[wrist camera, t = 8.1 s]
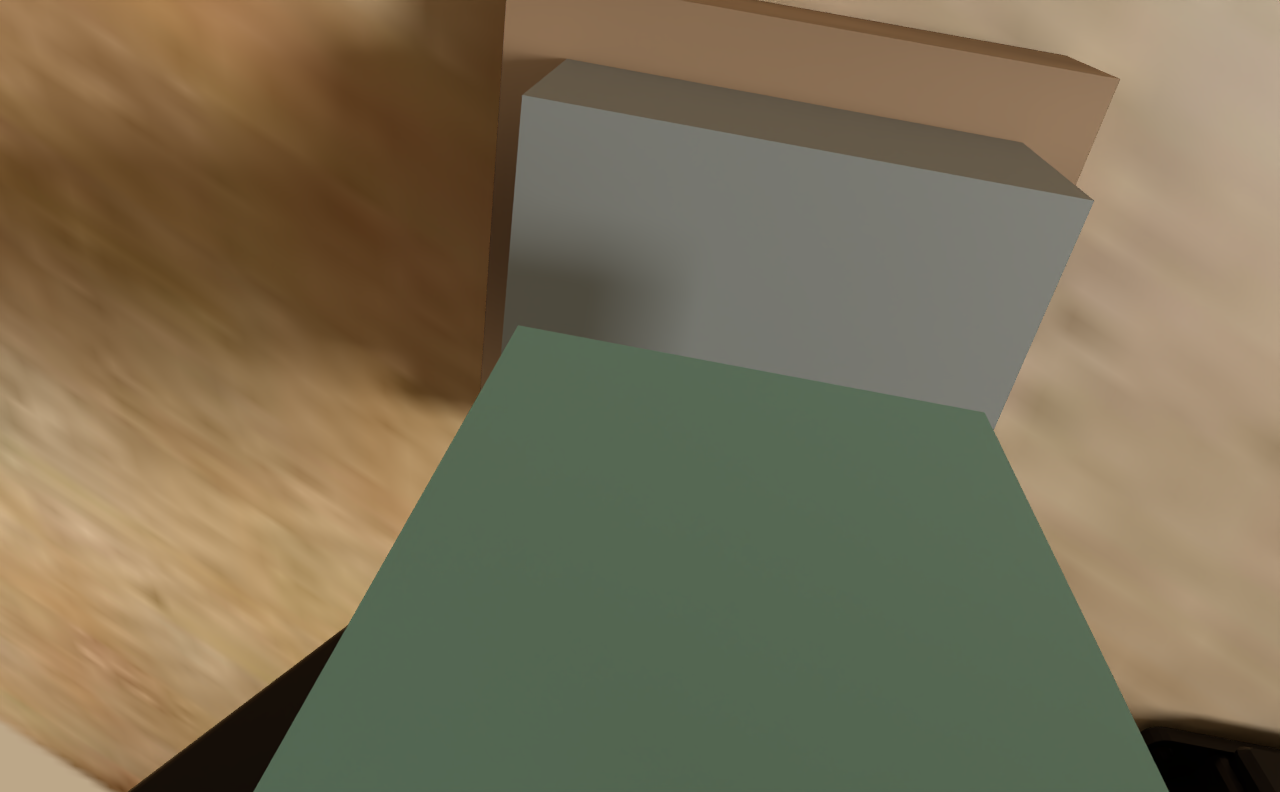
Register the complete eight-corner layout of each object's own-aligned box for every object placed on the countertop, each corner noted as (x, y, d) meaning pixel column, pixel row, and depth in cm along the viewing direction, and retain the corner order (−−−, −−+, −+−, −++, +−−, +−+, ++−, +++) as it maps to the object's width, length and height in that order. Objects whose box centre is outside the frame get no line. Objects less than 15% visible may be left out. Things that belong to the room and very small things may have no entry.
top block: (884, 507, 16) (910, 619, 14) (526, 438, 16) (485, 537, 14) (1023, 142, 13) (1094, 200, 10) (566, 58, 13) (521, 94, 10)
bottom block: (897, 466, 19) (921, 552, 17) (511, 394, 19) (474, 468, 17) (1054, 50, 15) (1119, 79, 12) (549, -40, 15) (508, -31, 12)
